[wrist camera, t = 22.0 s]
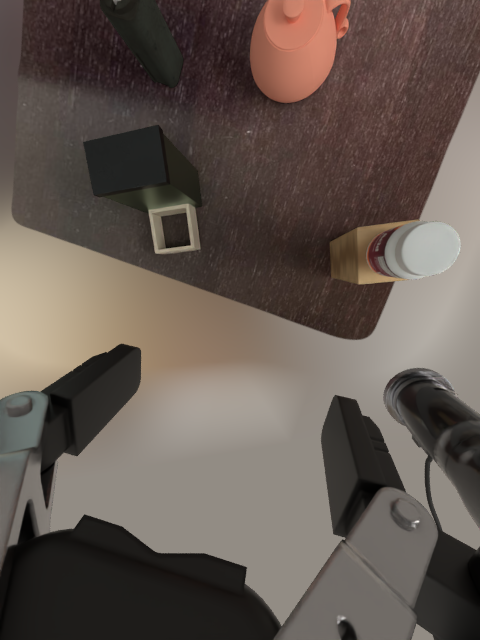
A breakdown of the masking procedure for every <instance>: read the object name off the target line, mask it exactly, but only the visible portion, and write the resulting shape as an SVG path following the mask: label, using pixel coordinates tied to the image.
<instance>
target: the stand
mask: <svg viewBox="0 0 480 640" xmlns="http://www.w3.org/2000/svg"><path fill="white" fill-rule="evenodd" d="M415 221H420V220H411V221H403V222H396V223H388V224H381V225H373V226H365V227H358V228H356V229H354V230H352V231H350V232H348V233H346V234H344V235H342V236H340V237H339V238H337V239H335V240H333V241H331V242H330V262H331V277H332V278H336V279H340V280H344V281H348V282H351V283H355V284H369V283H380V282H391V281H401V280H408V279H402V278H395V277H387V276H382V275H379V274H377V273H375V272H374V271H373V270H372V269H371V268H370V267H369V265H368V263H367V259H366V252H367V248H368V245H369V244H370V242H371V241H372V240H373V238H374V237H376V236H377V235H378V234H380V233H382V232H384V231H387V230H389V229H392V228H395V227H398V226H401V225H404V224H407V223H411V222H415Z"/></svg>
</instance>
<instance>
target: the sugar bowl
mask: <svg viewBox="0 0 480 640" xmlns="http://www.w3.org/2000/svg"><path fill="white" fill-rule="evenodd" d="M341 4H342V5H341ZM338 5H341V7H340V9H339V12H338V14H337V16H336V18H335V19H334V15H333V12H332V9H334V8H335V7H337V6H338ZM349 8H350V0H267V2H266V3H265V5H264V6H263V8H262V10H261V12H260V14H259V16H258V18H257V20H256V23H255V26H254V29H253V33H252V39H251V45H250V64H251V70H252V74H253V78H254V80H255V82H256V84H257V86H258V87H259V89H260V90H261V91H262V92H263V93H264V94H265V95H266V96H267V97H269V98H270V99H272V100H274V101H277V102H281V103H292V102H297V101H299V100H302V99H304V98H306V97H308V96H309V95H311V94H312V93H313V92H315V91H316V90H317V89H318V88H319V87H320V86H321V85H322V83H323V82H324V81H325V79H326V78H327V76H328V74H329V72H330V70H331V68H332V65H333V62H334V57H335V52H336V44H337V39H339V38H341V37H342V36H344V34H345V33H346V32H347V30H348V26H349V24H348V19H347V18H346V16H347V14H348V11H349Z"/></svg>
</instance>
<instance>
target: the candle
mask: <svg viewBox="0 0 480 640" xmlns="http://www.w3.org/2000/svg"><path fill="white" fill-rule="evenodd" d="M100 6H101V9H102V11H103V13H104V14H105V15H106V17H107V18H108V19H109V21H110V22H111V24H112V25H113V26H114V28H115V29H116V31H117V32H118V33H119V35H120V36H121V37H122V39H123V40H124V42H125V43H126V44H127V46H128V47H129V49H130V50H131V51H132V53H133V54H134V55H135V57H136V58H137V60H138V61H139V62H140V64H141V65H142V67H143V68H144V69H145V71H146V72H147V74H148V75H149V76H150V78H151V79H152V80H153V81H154V82H155V83H156V82H159V83H162V84H165V85H168V86H169V87H170V88H173V87H175V86H176V85H177V84H178V81H179V77H180V73H181V69H182V65H183V56H182V54H181V52H180V50H179V48H178V46H177V44H176V42H175V40H174V38H173V36H172V34H171V32H170V30H169V28H168V26H167V24H166V22H165V20H164V18H163V16H162V14H161V12H160V10H159V8H158V6H157V4H156V2H155V0H100Z"/></svg>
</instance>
